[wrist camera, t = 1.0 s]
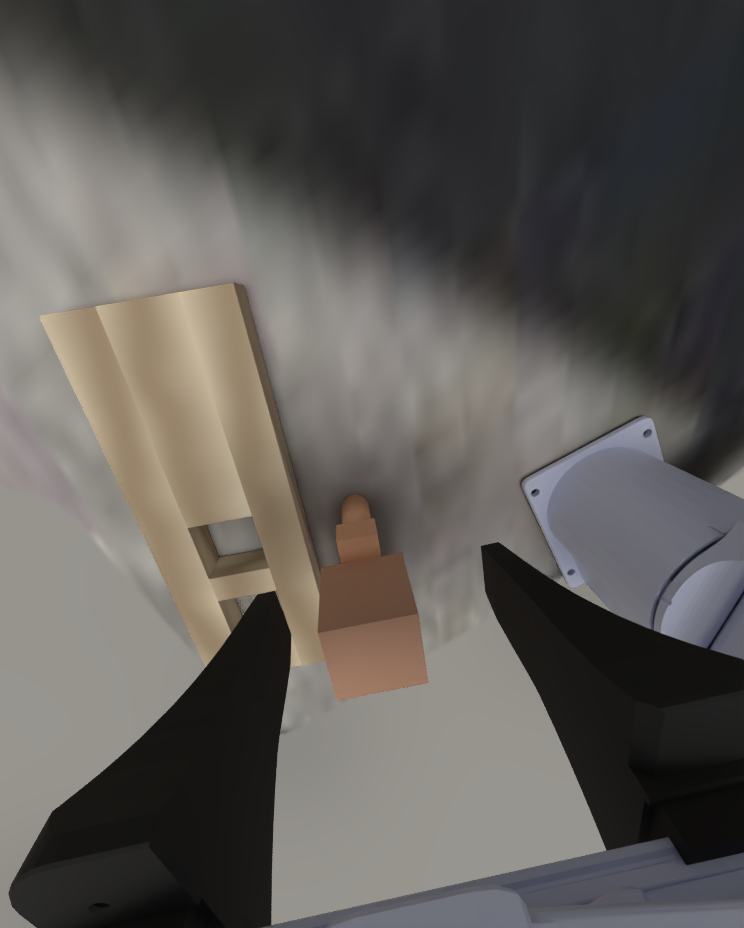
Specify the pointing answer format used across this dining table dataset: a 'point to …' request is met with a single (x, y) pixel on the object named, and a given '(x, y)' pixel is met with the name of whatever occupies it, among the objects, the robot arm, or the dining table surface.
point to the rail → (197, 451)
